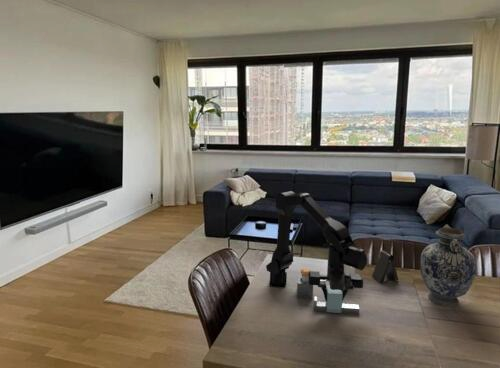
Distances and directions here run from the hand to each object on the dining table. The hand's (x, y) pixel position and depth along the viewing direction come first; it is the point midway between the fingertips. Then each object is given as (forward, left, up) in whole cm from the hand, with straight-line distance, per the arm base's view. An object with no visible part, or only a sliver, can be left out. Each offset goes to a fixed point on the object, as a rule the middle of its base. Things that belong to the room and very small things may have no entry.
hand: (333, 301), depth 128 cm
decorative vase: (+43, +13, -4) cm, 45 cm away
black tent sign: (+25, +28, -4) cm, 38 cm away
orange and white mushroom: (-10, +10, -1) cm, 14 cm away
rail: (+1, 0, -4) cm, 4 cm away
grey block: (0, 0, -4) cm, 4 cm away
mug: (+6, +24, -4) cm, 25 cm away
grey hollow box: (-10, +10, -4) cm, 15 cm away
